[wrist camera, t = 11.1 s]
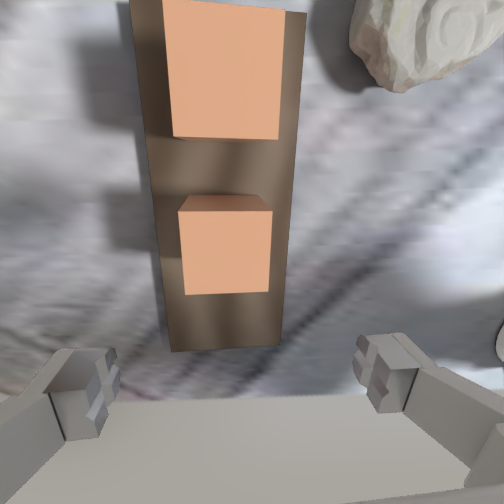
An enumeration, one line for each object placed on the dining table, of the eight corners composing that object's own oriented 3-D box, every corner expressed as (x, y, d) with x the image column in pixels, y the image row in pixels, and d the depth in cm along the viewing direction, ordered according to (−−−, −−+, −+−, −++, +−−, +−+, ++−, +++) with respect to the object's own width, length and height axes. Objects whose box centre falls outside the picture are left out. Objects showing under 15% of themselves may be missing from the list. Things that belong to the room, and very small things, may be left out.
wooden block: (258, 195, 24) (272, 211, 18) (256, 257, 26) (268, 291, 20) (189, 194, 23) (178, 211, 17) (193, 258, 26) (185, 294, 19)
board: (302, 20, 20) (306, 12, 19) (277, 338, 32) (280, 344, 31) (133, 5, 19) (128, -4, 18) (172, 345, 31) (171, 352, 30)
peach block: (264, 55, 20) (285, 9, 14) (261, 142, 22) (278, 139, 16) (181, 49, 19) (162, -2, 13) (187, 140, 22) (173, 136, 15)
